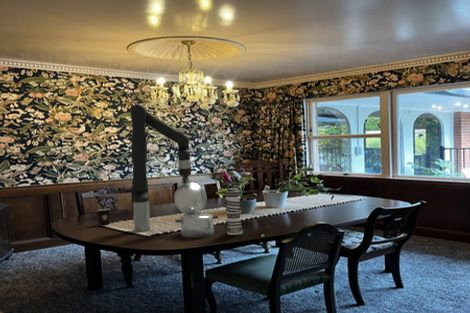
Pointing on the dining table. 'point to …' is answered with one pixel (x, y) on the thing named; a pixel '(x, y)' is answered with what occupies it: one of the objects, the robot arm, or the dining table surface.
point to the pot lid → (190, 198)
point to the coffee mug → (103, 216)
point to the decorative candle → (233, 211)
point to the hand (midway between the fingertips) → (186, 195)
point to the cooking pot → (196, 225)
